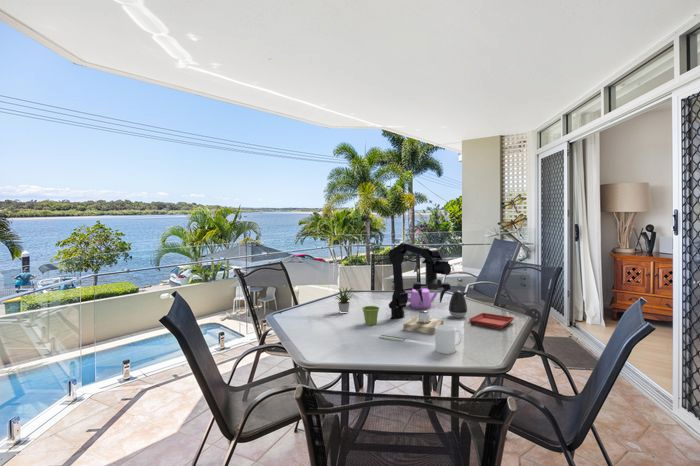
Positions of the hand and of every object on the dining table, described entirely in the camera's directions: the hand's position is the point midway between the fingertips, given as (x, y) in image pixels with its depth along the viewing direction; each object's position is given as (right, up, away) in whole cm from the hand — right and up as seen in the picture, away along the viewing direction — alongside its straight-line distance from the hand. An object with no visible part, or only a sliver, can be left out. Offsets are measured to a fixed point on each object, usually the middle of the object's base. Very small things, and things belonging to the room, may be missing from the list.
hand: (431, 302), depth 194 cm
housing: (-4, -14, -2) cm, 14 cm away
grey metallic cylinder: (-4, -13, -2) cm, 13 cm away
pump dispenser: (+20, -12, +21) cm, 31 cm away
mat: (-20, -14, -12) cm, 27 cm away
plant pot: (-31, -14, +10) cm, 35 cm away
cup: (+1, -15, -32) cm, 36 cm away
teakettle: (+4, -12, +48) cm, 50 cm away
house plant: (-44, -13, +35) cm, 58 cm away
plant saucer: (+34, -13, +7) cm, 37 cm away
